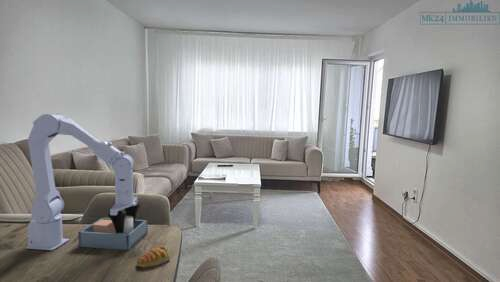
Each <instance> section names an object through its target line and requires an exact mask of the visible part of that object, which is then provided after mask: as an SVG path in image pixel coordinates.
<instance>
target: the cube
mask: <svg viewBox="0 0 500 282" xmlns="http://www.w3.org/2000/svg"><path fill="white" fill-rule="evenodd" d="M93 232H99V233H114V234H115V227H114V224H113V222H112V220H100V221H99V222H97V223H95V224H94V225H93Z"/></svg>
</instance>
